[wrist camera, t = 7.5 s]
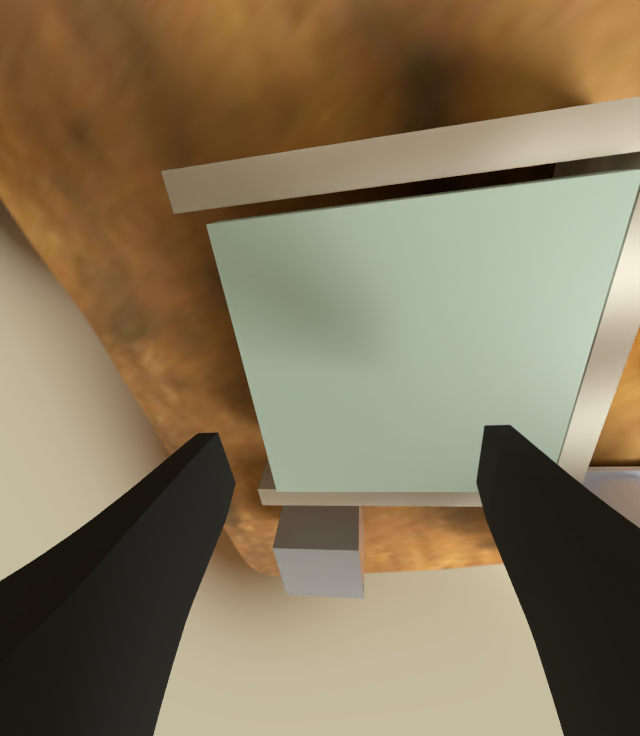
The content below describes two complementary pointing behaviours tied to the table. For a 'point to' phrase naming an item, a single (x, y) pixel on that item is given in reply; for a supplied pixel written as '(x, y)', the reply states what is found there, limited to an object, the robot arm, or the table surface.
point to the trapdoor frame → (446, 159)
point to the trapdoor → (419, 325)
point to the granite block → (321, 550)
